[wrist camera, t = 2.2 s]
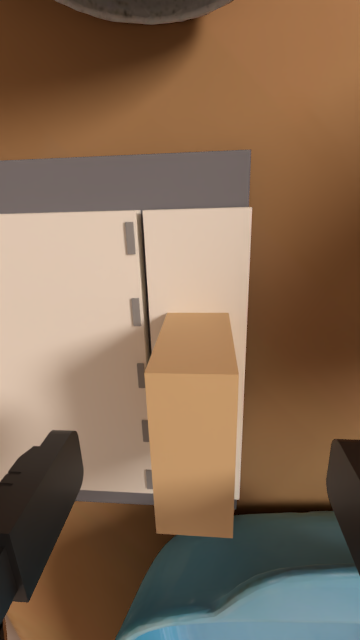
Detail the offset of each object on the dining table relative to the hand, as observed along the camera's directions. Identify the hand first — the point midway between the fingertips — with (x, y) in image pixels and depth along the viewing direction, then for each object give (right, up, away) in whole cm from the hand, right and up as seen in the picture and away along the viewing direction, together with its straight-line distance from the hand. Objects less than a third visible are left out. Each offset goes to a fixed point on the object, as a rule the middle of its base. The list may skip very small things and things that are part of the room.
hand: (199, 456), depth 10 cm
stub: (0, +2, +5) cm, 5 cm away
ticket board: (-5, +3, +6) cm, 8 cm away
